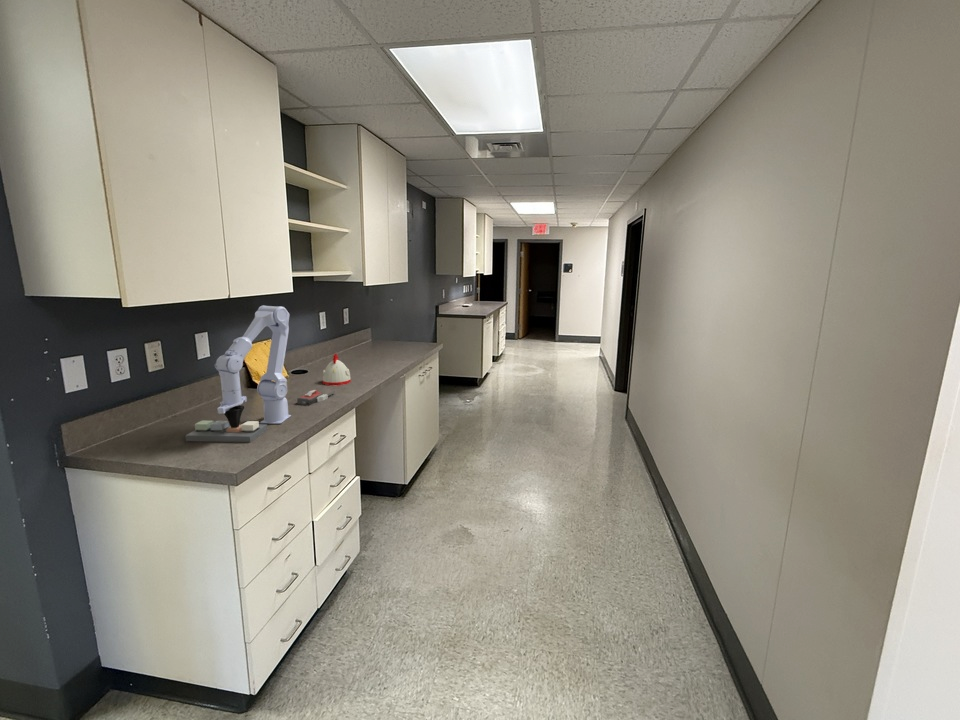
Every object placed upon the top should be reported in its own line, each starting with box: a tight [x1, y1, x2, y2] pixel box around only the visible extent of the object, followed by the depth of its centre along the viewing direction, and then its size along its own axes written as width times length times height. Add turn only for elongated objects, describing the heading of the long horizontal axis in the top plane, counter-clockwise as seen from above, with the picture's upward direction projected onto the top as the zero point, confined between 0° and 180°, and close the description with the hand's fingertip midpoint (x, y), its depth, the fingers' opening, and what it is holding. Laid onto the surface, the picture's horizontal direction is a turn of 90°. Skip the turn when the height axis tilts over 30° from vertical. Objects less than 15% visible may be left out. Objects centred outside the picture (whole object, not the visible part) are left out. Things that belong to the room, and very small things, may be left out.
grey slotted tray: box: [185, 423, 268, 443], centre depth 156 cm, size 12×22×2 cm, turn 89°
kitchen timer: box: [322, 353, 352, 386], centre depth 230 cm, size 14×14×15 cm
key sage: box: [194, 420, 214, 432], centre depth 156 cm, size 4×4×3 cm
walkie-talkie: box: [296, 389, 336, 406], centre depth 201 cm, size 9×4×20 cm
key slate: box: [210, 420, 229, 432], centre depth 156 cm, size 4×4×3 cm
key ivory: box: [241, 420, 260, 433], centre depth 156 cm, size 4×4×3 cm
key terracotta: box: [226, 425, 242, 432], centre depth 156 cm, size 4×4×3 cm
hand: (235, 427), depth 156 cm, fingers closed, pressing on key terracotta
